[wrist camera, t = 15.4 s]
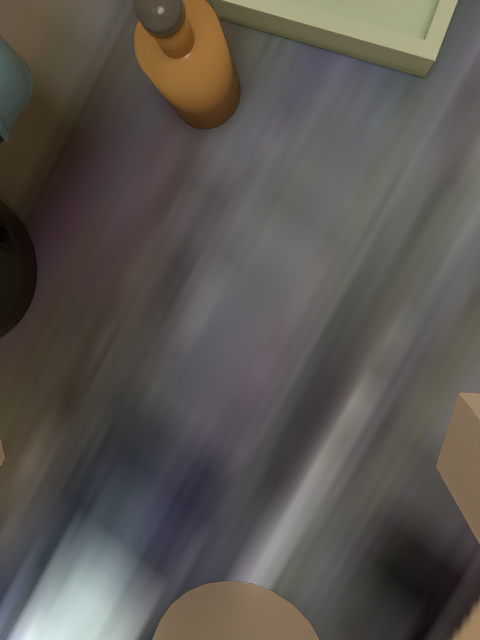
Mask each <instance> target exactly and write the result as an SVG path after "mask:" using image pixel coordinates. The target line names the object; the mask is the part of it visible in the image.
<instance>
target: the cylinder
mask: <svg viewBox="0 0 480 640" xmlns="http://www.w3.org/2000/svg"><path fill="white" fill-rule="evenodd" d="M152 640H319V638H318V637H317V635H316V633H315V631H314V629H313V627H312V626H311V624H310V622H309V621H308V620H307V619H306V618H305V617H304V616H303V615H302V614H301V613H300V611H299V610H298V609H297V608H296V607H295V606H294V605H293V604H291V603H290V602H288V601H287V600H285V599H284V598H282V597H281V596H279V595H278V594H276V593H275V592H273V591H270V590H267V589H265V588H262V587H259V586H257V585H254V584H251V583H243V582H235V581H222V582H214V583H207V584H204V585H201V586H199V587H197V588H194V589H192V590H190V591H187V592H186V593H184V594H183V595H182V596H181V597H180V598H178V599H177V600H176V601H175V602H173V603H172V604H171V605H170V607H169V608H168V610H167V611H166V613H165V614H164V616H163V617H162V619H161V620H160V622H159V624H158V627H157V629H156V631H155V634H154V636H153V639H152Z"/></svg>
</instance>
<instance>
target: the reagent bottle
mask: <svg viewBox="0 0 480 640" xmlns="http://www.w3.org/2000/svg"><path fill="white" fill-rule="evenodd" d="M133 6H134V11H135V14H136V16H137V18H138V20H139V21H138V24H137V27H136V31H135V37H134V47H135V53H136V57H137V60H138V62H139V64H140V66H141V68H142V69H143V71H144V72H145V73H146V75H147V76H148V77H149V78H150V80H151V81H152V82H153V83H154V85H155V86H156V87H157V88H158V90H159V91H160V92H161V93H162V95H163V96H164V97H165V98H166V100H167V101H168V102H169V103H170V105H171V106H172V107H173V108H174V110H175V111H176V112H177V113H178V115H179V116H180V117H181V118H182V119H183V120H184V121H185V122H186V123H187V124H189V125H191V126H193V127H195V128H199V129H211V128H215V127H218V126H220V125H222V124H223V123H225V122H226V121H227V120H228V119H229V118H230V117H231V116H232V115H233V113H234V112H235V110H236V108H237V106H238V104H239V100H240V83H239V79H238V76H237V73H236V70H235V67H234V64H233V61H232V58H231V55H230V52H229V49H228V47H227V44H226V41H225V38H224V35H223V32H222V29H221V26H220V23H219V20H218V18H217V15H216V13H215V12H214V10H213V9H212V7H211V6H210V5H209V4H208V3H207V2H206V1H205V0H134V2H133Z"/></svg>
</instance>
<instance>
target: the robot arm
mask: <svg viewBox="0 0 480 640" xmlns="http://www.w3.org/2000/svg"><path fill="white" fill-rule="evenodd" d="M32 93H33V81H32V76H31V73H30V70H29V68H28V66H27V65H26V63H25V62H24V61H23V59H22V58H21V57H20V56H19V55H18V54H17V53H16V52H15V51H14V50H13V49H12V48H11V47H10V45H9V44H8V43H7V42H6V41H5V40H4V39H3V38H2V37H1V36H0V143H1V141H3V142H7V141H8V139H9V136H10V135H9V131H10V129H11V128H12V127H13V125H14V124H15V122H16V121H17V119H18V118H19V116H20V115H21V113H22V112H23V110H24V109H25V107H26V106H27V104H28V103H29V101H30V99H31V96H32ZM35 281H36V262H35V256H34V251H33V247H32V244H31V241H30V238H29V236H28V234H27V232H26V230H25V228H24V226H23V225H22V223H21V222H20V220H19V219H18V217H17V216H16V215H15V214H14V213H13V212H12V211H11V210H10V209H9V208H8V207H7V206H6V205H5V204H4V203H2V202H1V201H0V336H2V335H4V334H5V333H7V332H8V331H9V330H11V329H12V328H13V327H14V326H15V325H16V324H17V323H18V322H19V320H20V319H21V318H22V316H23V315H24V313H25V312H26V310H27V308H28V306H29V304H30V301H31V299H32V295H33V292H34V288H35ZM4 459H5V456H4V452H3V448H2V444H1V440H0V465H1V464H2V462H3V461H4ZM436 468H437V470H438V471H439V473H440V475H441V477H442V478H443V480H444V482H445V484H446V485H447V487H448V489H449V491H450V493H451V494H452V496H453V498H454V500H455V501H456V503H457V505H458V507H459V508H460V510H461V512H462V514H463V516H464V517H465V519H466V521H467V523H468V524H469V526H470V528H471V530H472V531H473V533H474V535H475V537H476V538H477V540H478V542H479V544H480V393H458V396H457V399H456V402H455V406H454V409H453V412H452V416H451V419H450V422H449V425H448V429H447V432H446V435H445V439H444V442H443V445H442V449H441V452H440V455H439V459H438V462H437V465H436Z"/></svg>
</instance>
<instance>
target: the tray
mask: <svg viewBox="0 0 480 640" xmlns="http://www.w3.org/2000/svg"><path fill="white" fill-rule="evenodd" d="M457 1H458V0H211V2H212V5H213V8H214V11H215V13H216V15H217V18H218V19H221V20H225V21H228V22H232V23H235V24H239V25H242V26H246V27H249V28H253V29H256V30H260V31H263V32H266V33H270V34H273V35H277V36H280V37H284V38H287V39H291V40H294V41H298V42H301V43H304V44H308V45H311V46H315V47H318V48H322V49H325V50H329V51H332V52H336V53H339V54H342V55H346V56H349V57H353V58H356V59H360V60H363V61H367V62H370V63H374V64H377V65H381V66H384V67H387V68H391V69H394V70H398V71H401V72H405V73H408V74H412V75H415V76H419V77H422V78H425V76H426V75H427V73H428V71H429V70H430V68H431V67H432V65H433V63H434V62H435V60H436V57H437V54H438V52H439V49H440V46H441V44H442V41H443V38H444V36H445V33H446V30H447V28H448V25H449V22H450V20H451V17H452V15H453V12H454V9H455V7H456V4H457Z"/></svg>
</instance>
